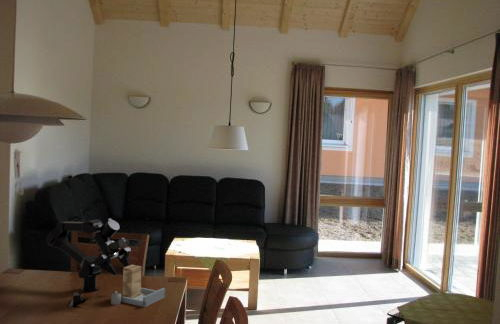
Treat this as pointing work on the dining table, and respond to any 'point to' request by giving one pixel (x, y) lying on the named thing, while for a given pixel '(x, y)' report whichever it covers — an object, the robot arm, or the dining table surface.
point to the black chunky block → (76, 300)
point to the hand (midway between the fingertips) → (122, 271)
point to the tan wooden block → (132, 281)
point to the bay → (139, 297)
